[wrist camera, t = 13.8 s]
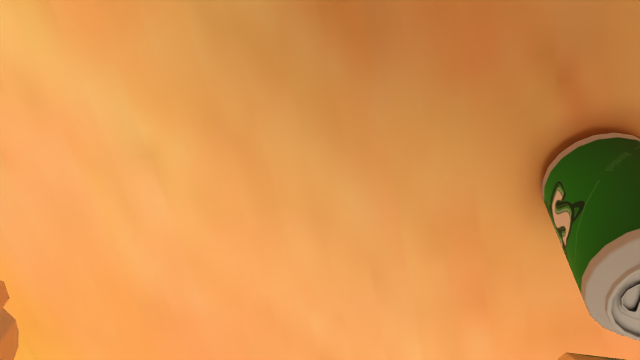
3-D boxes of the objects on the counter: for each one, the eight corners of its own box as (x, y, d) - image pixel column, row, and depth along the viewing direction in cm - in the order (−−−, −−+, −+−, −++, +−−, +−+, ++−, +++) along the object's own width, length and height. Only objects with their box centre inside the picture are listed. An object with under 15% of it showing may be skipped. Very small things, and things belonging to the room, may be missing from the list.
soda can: (548, 123, 38) (608, 242, 28) (671, 124, 37) (778, 246, 27) (529, 217, 42) (576, 350, 32) (640, 220, 41) (723, 356, 31)
